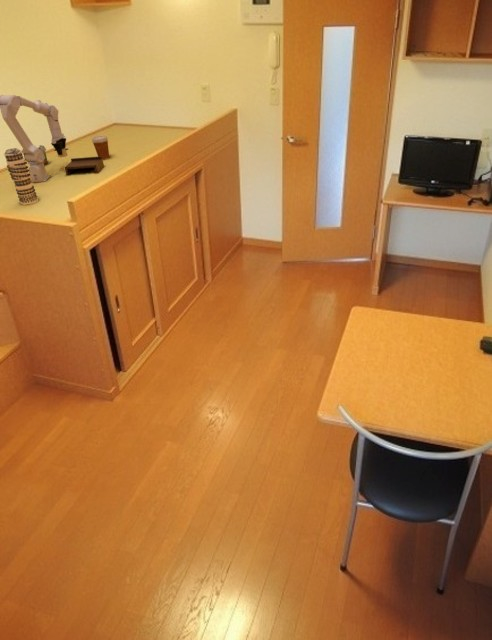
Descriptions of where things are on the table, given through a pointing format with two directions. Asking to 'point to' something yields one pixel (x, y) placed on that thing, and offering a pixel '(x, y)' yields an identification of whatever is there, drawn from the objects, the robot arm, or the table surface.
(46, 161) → the food container
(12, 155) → the leaning tower model
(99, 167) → the shelf
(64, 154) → the pot
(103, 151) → the disposable coffee cup
